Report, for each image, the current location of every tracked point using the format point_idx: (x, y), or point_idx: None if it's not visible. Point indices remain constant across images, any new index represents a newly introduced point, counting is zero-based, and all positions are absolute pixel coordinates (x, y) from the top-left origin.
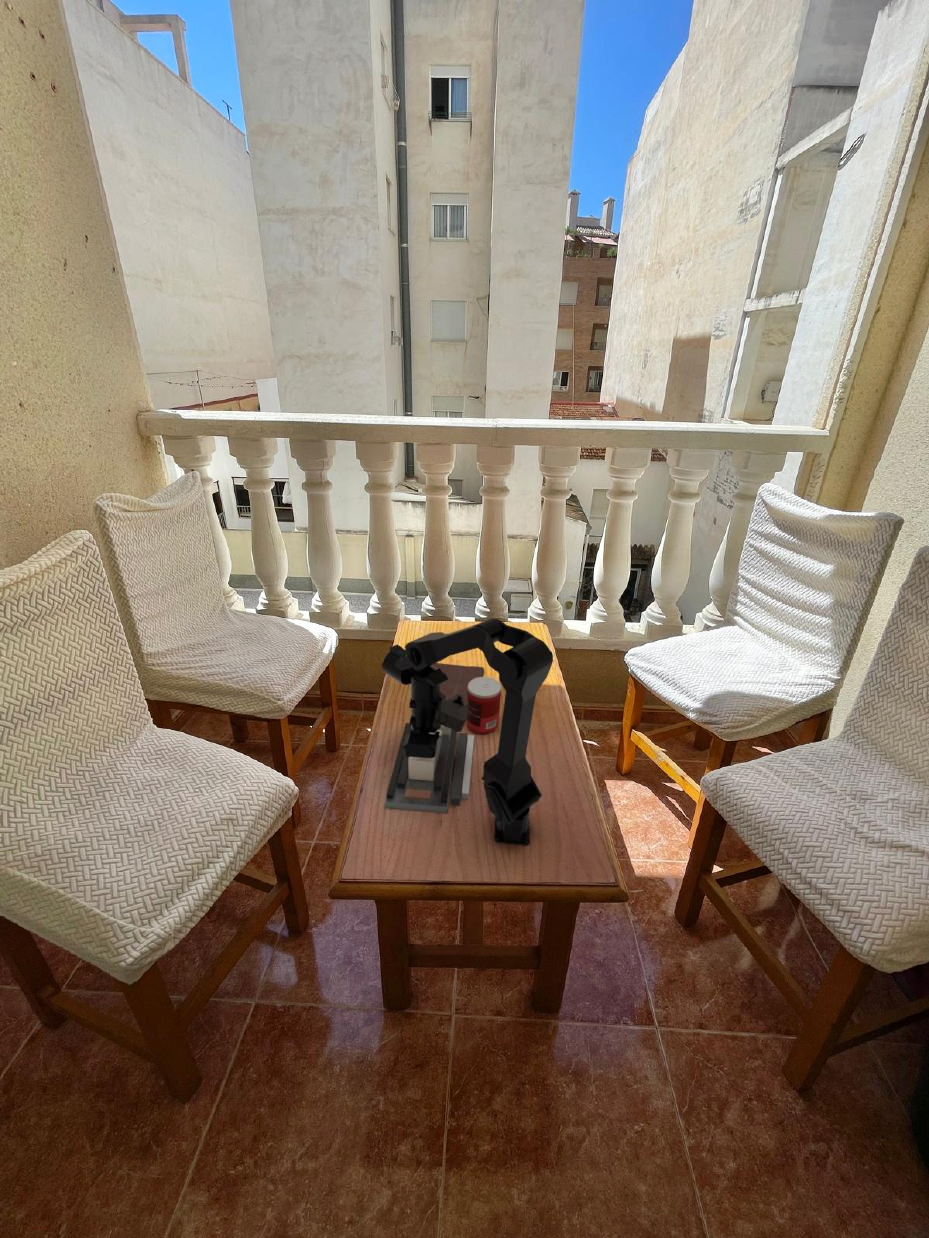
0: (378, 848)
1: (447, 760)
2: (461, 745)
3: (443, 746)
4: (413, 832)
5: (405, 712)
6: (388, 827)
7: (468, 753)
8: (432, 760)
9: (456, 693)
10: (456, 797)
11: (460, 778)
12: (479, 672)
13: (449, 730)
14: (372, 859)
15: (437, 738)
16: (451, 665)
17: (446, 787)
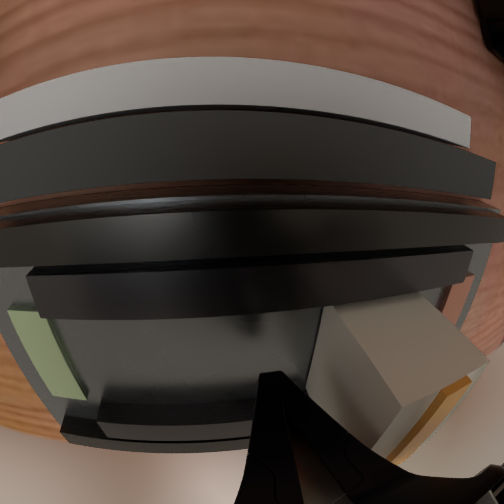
0: (490, 328)
1: (316, 246)
2: (84, 158)
3: (158, 300)
4: (493, 280)
5: (6, 402)
6: (467, 334)
7: (157, 88)
8: (481, 369)
9: None
10: (491, 175)
11: (419, 146)
12: None
13: None
14: (498, 327)
15: (495, 481)
16: None
17: (480, 226)
